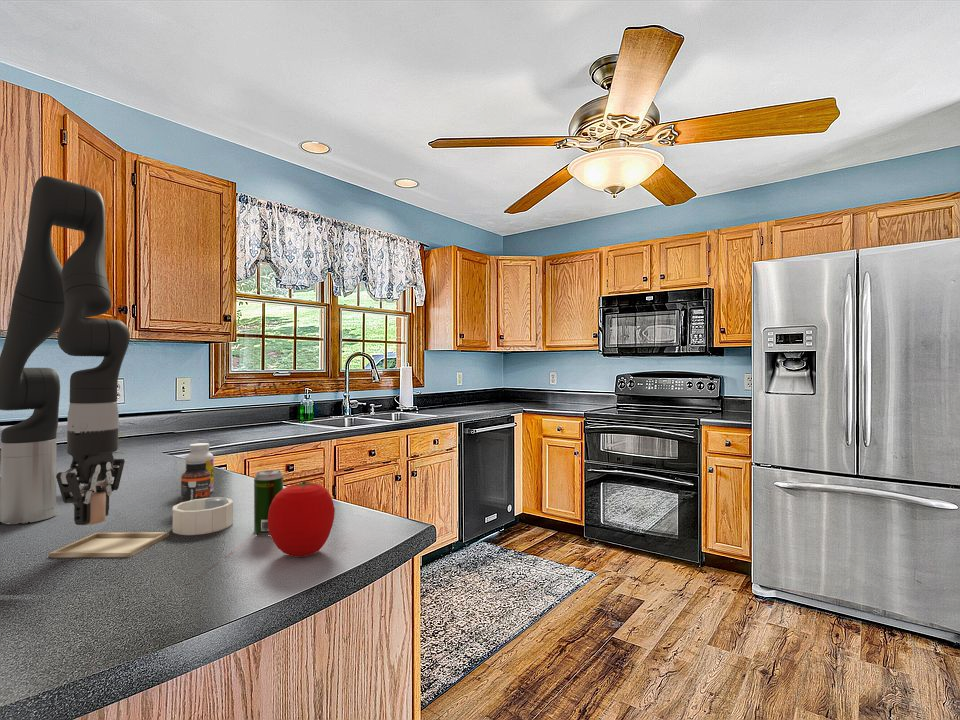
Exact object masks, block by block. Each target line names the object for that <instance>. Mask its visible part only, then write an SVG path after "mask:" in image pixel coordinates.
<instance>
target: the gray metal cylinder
mask: <svg viewBox="0 0 960 720" xmlns="http://www.w3.org/2000/svg"><path fill="white" fill-rule="evenodd" d="M227 498H228V497H226V496H225V497H223V496H215V497H210V498H209V499H206V500H205V509H212V508H216V507H220V506H223V505H225V504H227Z"/></svg>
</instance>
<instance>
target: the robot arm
mask: <svg viewBox="0 0 960 720" xmlns="http://www.w3.org/2000/svg"><path fill="white" fill-rule="evenodd" d="M28 212H29V213H28V221H27V231H26V237H25V243H24V244H25V245H24V251H23V255H22V260H21V265H20V268H19V273H18V276H17V280H16V283H15V286H14V287H15V288H14V292H13V297H12V302H11V308H10V314H9V320H8V325H7V331H6V335H5V339H4V344H3V346H2V349H1V353H0V411H25V410H27V411H28V410H33V412H32V414H31V415H30V416H29V417H27V419H25V420H22V421H20V422H19V423H16V424H14V425H11V426H8V427H7V426H6V427H5V428H4V429H3V430H2V431H1V433H0V441H1V442H0V522H2V523H10V524H9V525H19V524H18V523H22V524H28V522H30V523H35V522H40V521H43V520H47V519H50V518H53V517H55V516H56V515H57V484H58V488H59V491H60V494H61V495H60V496H61V499H62V501H63V503H64V504H72V505H73V509H74V511H73V512H74V513H73V517H74V518H73V519H74V524H75V525H77V526H87V525H86V524H89V523H90V503H89V502H90V498H91V493H92V491H93V490H94V492H97V491H102V492H106V517H108V516H109V513H110V511H109V510H110V496H112V494H113V492H114V491H118V489H119V487H120V482H121V479H122V475H123V470H124V467H125V459H124V458H115V457H113V456H114V454H112V452H113V453H114V452H117V450H118V449H119V438H118V437H119V436H118V435H119V419H120V417H119V416H120V415H119V407H118V385H119V384H118V382H119V377H120V372H121V371H120V370H121V367H122V364H123V361H124V359H125V356H126V354H127V351H128V349H129V344H130V339H131V333H130V330H129V328H128V326H127V325H126V324H125V323H124V322H123V321H121V320H119V319H112V318H96V317H98V316H101V315H104V314H106V313H107V312H109V310H111V307H112V298H111V293H110V287H109V281H108V278H107V277H108V276H107V268H106V208H105V201H104V199H103V196H102V195H101V193H100V191H98V190H96V188H95V189H94V188H92V187H89V186H85V185H82V184H79V183H75V182H71V181H68V180H65V179H61V178H57V177H52V176H48V175H43V176H40V177H39V178H37V180H36V182H35V183H34V186H33V189H32V193H31V197H30V205H29V211H28ZM53 226H55V227H60V228H65V229H69V230H74V231H79V232H83V235H84V236H83V240H82V242H81V244H80V245H79V246H78V247H77V248H76V249H75V250H74V251H73V253H72V254H71V255H70V256H69V257H68V258H67V259H66V261H65V262H64V264H63V266H62V264H61V263H60V260H59V259H58V257H57V253H56V252H55V249H54V245H53V243H52V242H53V241H52V227H53ZM57 331H58V333H57V344H58V347H59V348H60V349H61V351H62V352H64V354H67V355H68V356H70V357H98V358H99V357H102V358H103V359H102V361H101V363H100V364H99V365H98V366H95V367H92V368H91V367H90V368H85V369H79V370H76V371H74V372H73V373H71V375H70V378H69V406H68V411H67V427H66V428H67V429H66V430H67V431H66V432H67V433H66V434H67V435H66V440H67V441H66V444H67V445H66V453H67V455H70V456H71V458H72V461H71V463H70V466H69V467H70V468H69V469H68V470H67V469H66V471H64V472H63V471H62V472H60V471H59V472H58V473H57V431H58V425H59V411H60V410H59V409H60V398H61V397H60V396H61V382H60V381H61V380H60V377H59V374H58V372H57V371H56V370H55V369H53V368H51V367H26V363H27V362H28V361H29V358H30V356H32V354H33V353H34V351H35V350H36V349H37V348H38V347H40V345H41V344H43V343H44V342H45V341H46V340H48V339H50V337H52V335H54V334H55V333H56V332H57ZM84 484H88V485H87V486H84ZM101 486H102V488H101ZM82 491H83V494H84V495H83V497H82V495H81V494H82ZM2 523H1V524H2Z"/></svg>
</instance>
